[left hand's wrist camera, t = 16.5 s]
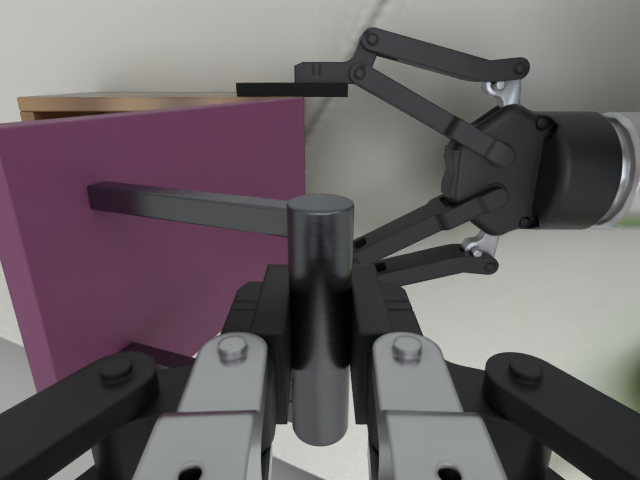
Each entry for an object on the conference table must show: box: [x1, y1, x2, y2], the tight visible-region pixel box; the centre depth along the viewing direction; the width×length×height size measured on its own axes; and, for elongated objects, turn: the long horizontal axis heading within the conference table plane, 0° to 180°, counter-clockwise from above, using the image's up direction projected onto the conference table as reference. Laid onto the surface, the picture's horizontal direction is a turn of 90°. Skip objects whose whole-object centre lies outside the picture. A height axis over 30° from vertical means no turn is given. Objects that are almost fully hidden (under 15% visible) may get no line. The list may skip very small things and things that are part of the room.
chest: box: [17, 92, 303, 122], centre depth 31 cm, size 16×9×9 cm, turn 90°
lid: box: [0, 98, 354, 446], centre depth 17 cm, size 17×9×8 cm
